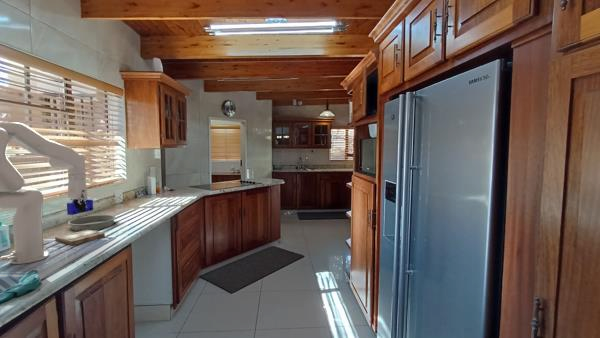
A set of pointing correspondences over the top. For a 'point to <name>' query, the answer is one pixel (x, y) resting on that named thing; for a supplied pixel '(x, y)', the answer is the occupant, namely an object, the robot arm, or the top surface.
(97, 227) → the cake pan
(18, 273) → the top surface
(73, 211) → the blue curved stepped block
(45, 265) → the top surface
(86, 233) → the mounting board
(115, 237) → the top surface
